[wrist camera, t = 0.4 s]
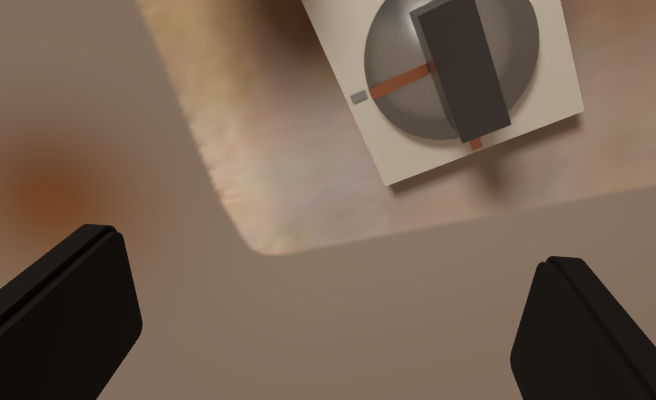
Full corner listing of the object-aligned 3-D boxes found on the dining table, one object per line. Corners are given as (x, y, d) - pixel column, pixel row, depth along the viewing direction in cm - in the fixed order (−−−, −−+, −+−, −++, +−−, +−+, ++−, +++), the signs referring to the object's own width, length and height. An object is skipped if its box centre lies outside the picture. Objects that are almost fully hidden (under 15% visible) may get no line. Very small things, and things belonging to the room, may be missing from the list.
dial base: (521, -120, 26) (533, -129, 25) (572, 104, 32) (585, 111, 30) (304, -2, 31) (300, -1, 29) (384, 177, 37) (385, 187, 35)
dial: (508, -76, 26) (552, -98, 20) (551, 98, 30) (598, 124, 24) (337, 13, 29) (328, 18, 23) (399, 158, 33) (405, 195, 27)
